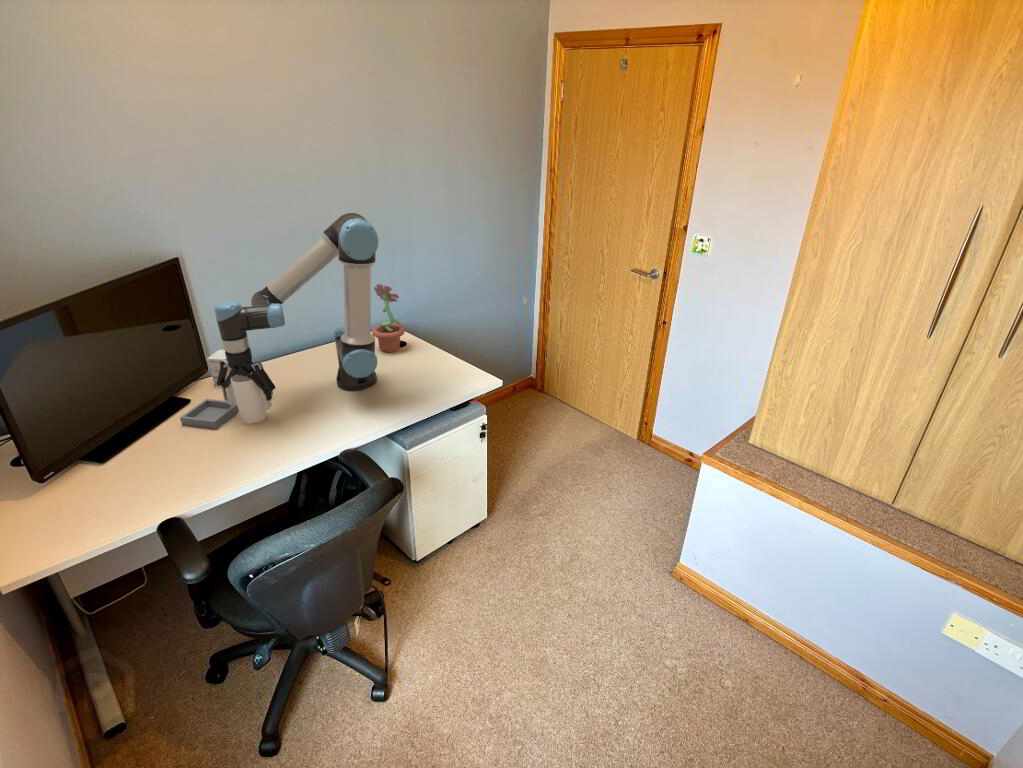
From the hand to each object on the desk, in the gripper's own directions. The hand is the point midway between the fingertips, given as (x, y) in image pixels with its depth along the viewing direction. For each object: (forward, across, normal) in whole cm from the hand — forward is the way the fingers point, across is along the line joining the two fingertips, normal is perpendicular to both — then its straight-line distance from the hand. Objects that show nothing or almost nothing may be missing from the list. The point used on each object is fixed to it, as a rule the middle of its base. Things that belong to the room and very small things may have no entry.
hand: (250, 405), depth 184 cm
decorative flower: (+4, -24, -64) cm, 69 cm away
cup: (+5, 0, 0) cm, 5 cm away
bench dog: (+5, +16, -12) cm, 21 cm away
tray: (+5, +14, +3) cm, 15 cm away
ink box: (+5, +25, -22) cm, 34 cm away
